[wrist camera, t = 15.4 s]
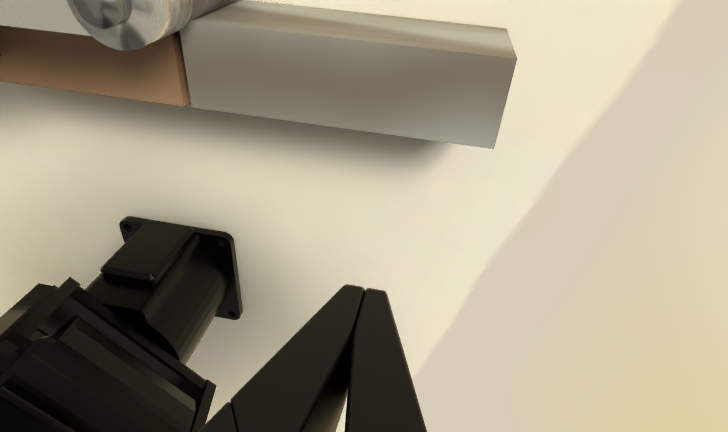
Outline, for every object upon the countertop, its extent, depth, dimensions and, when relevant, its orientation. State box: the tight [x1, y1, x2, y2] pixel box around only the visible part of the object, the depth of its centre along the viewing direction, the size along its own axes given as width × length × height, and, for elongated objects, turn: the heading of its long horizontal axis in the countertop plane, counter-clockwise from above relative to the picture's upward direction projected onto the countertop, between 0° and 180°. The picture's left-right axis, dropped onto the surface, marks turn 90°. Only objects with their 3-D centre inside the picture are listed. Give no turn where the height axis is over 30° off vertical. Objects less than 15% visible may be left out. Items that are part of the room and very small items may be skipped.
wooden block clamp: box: [0, 0, 517, 149], centre depth 16 cm, size 5×22×6 cm, turn 86°
